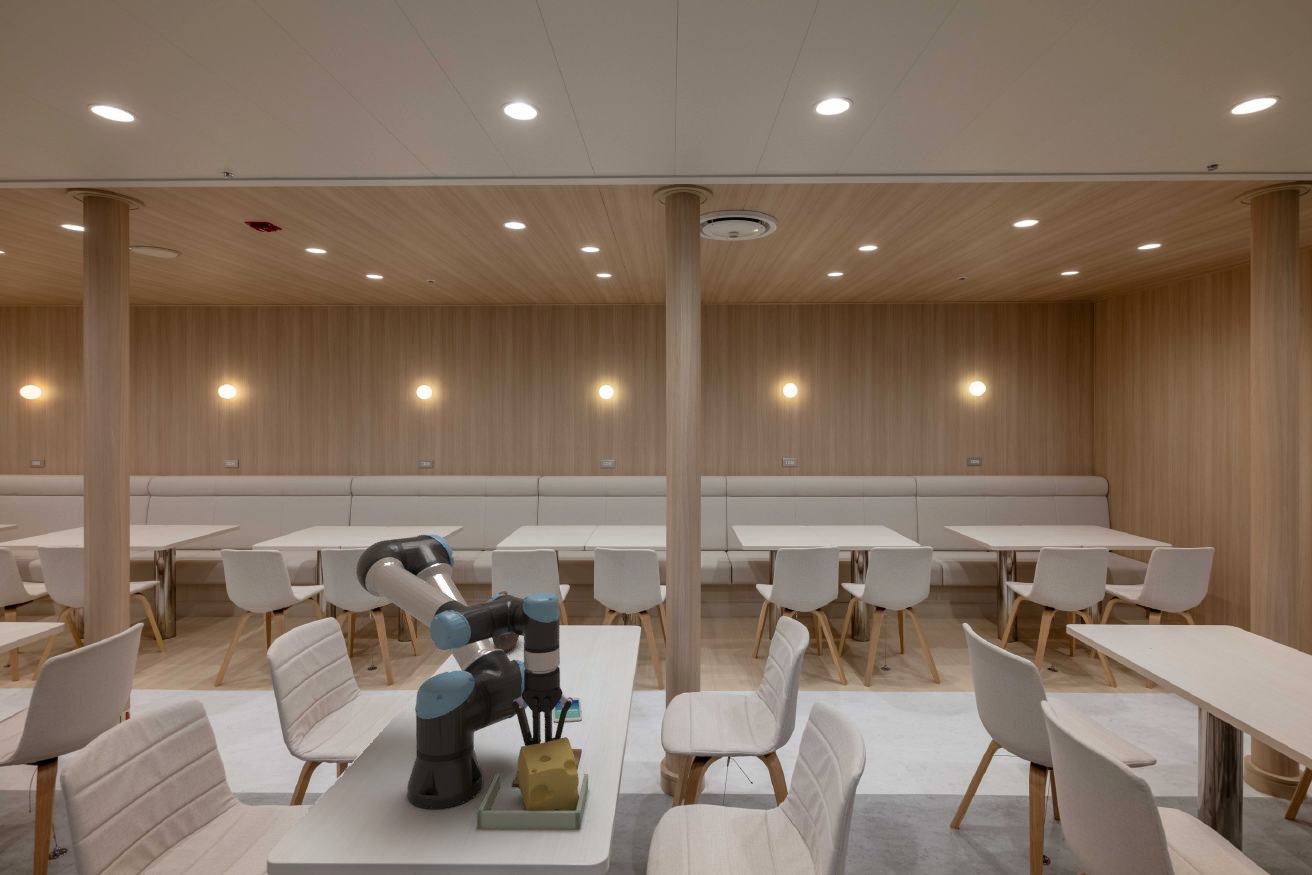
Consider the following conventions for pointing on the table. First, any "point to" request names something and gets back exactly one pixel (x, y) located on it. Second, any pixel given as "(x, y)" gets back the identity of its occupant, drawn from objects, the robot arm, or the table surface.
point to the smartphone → (569, 712)
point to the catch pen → (529, 813)
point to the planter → (505, 638)
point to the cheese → (548, 776)
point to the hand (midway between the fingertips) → (543, 777)
